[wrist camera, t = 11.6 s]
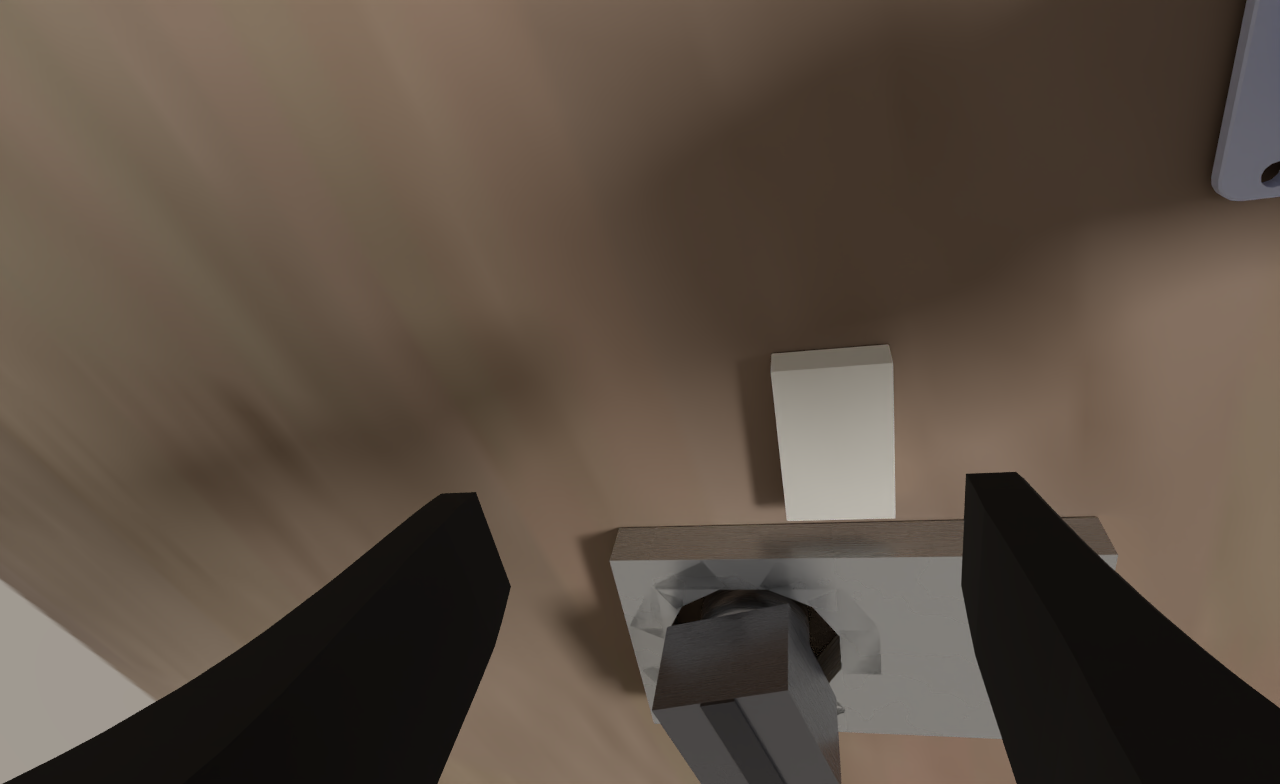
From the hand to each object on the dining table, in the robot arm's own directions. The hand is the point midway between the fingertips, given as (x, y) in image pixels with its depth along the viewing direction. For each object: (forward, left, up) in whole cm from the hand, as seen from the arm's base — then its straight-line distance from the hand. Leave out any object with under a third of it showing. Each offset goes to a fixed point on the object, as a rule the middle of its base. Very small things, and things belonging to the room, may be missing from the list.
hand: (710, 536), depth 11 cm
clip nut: (+1, +12, -9) cm, 15 cm away
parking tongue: (-2, +5, -9) cm, 11 cm away
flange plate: (-2, +12, -9) cm, 15 cm away
